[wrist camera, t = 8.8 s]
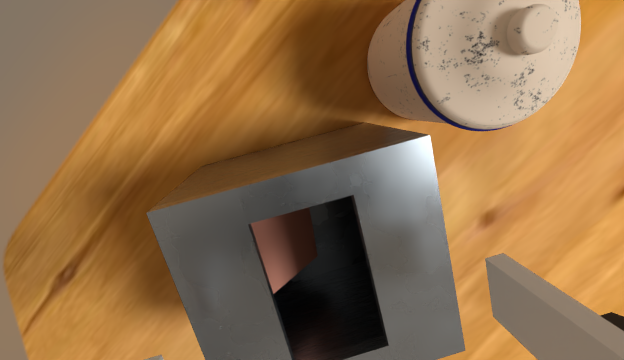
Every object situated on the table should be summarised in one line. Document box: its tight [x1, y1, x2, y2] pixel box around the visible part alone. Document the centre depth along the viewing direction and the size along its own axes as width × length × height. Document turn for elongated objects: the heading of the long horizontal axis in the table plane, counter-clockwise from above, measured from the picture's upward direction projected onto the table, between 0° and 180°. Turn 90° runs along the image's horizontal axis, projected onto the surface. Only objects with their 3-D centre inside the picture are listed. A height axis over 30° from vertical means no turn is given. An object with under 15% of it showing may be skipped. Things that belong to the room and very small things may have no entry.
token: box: [251, 207, 318, 294], centre depth 23 cm, size 2×6×6 cm
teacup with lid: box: [367, 0, 581, 131], centre depth 19 cm, size 12×9×12 cm
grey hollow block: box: [146, 123, 465, 360], centre depth 21 cm, size 13×12×11 cm
